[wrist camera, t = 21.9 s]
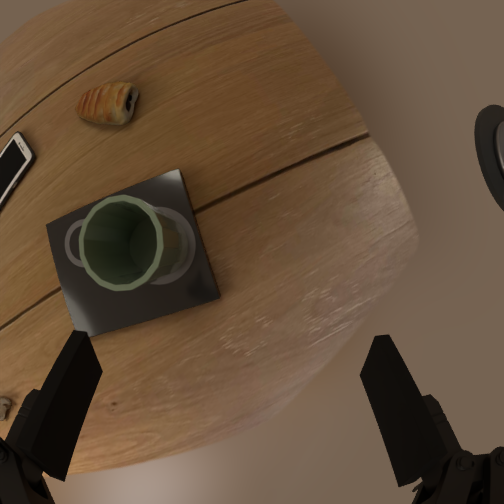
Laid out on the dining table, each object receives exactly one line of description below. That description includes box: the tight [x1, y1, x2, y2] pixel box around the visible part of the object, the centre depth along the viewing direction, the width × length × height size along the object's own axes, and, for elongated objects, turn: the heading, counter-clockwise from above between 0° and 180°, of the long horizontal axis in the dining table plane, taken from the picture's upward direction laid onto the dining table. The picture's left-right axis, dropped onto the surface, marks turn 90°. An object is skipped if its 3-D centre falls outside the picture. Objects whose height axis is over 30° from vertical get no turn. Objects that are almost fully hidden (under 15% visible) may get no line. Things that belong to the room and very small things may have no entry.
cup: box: [79, 195, 189, 291], centre depth 27 cm, size 7×7×12 cm
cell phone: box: [0, 131, 35, 209], centre depth 34 cm, size 8×15×1 cm, turn 135°
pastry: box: [75, 81, 138, 125], centre depth 33 cm, size 9×7×4 cm
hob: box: [46, 169, 221, 337], centre depth 34 cm, size 20×16×2 cm
